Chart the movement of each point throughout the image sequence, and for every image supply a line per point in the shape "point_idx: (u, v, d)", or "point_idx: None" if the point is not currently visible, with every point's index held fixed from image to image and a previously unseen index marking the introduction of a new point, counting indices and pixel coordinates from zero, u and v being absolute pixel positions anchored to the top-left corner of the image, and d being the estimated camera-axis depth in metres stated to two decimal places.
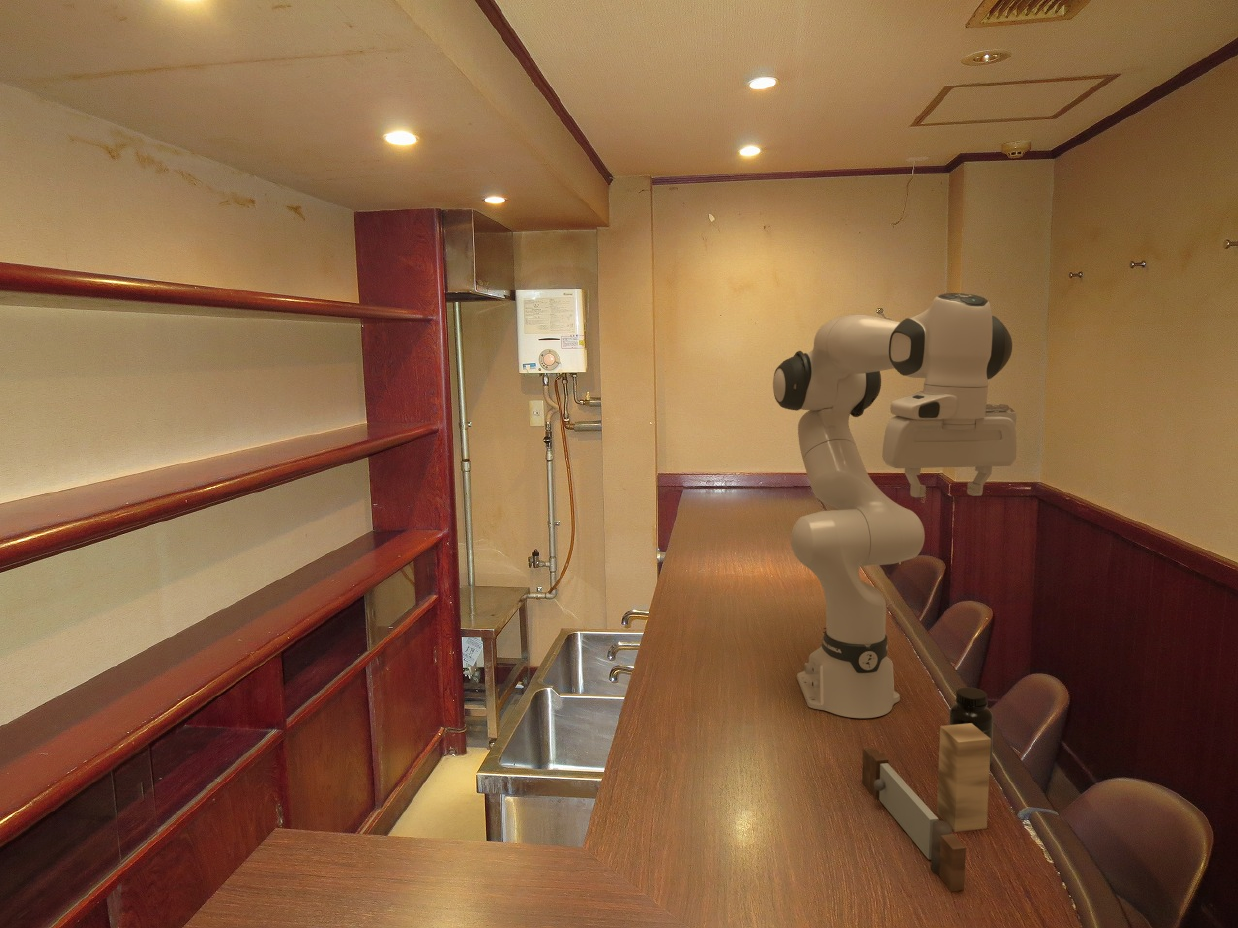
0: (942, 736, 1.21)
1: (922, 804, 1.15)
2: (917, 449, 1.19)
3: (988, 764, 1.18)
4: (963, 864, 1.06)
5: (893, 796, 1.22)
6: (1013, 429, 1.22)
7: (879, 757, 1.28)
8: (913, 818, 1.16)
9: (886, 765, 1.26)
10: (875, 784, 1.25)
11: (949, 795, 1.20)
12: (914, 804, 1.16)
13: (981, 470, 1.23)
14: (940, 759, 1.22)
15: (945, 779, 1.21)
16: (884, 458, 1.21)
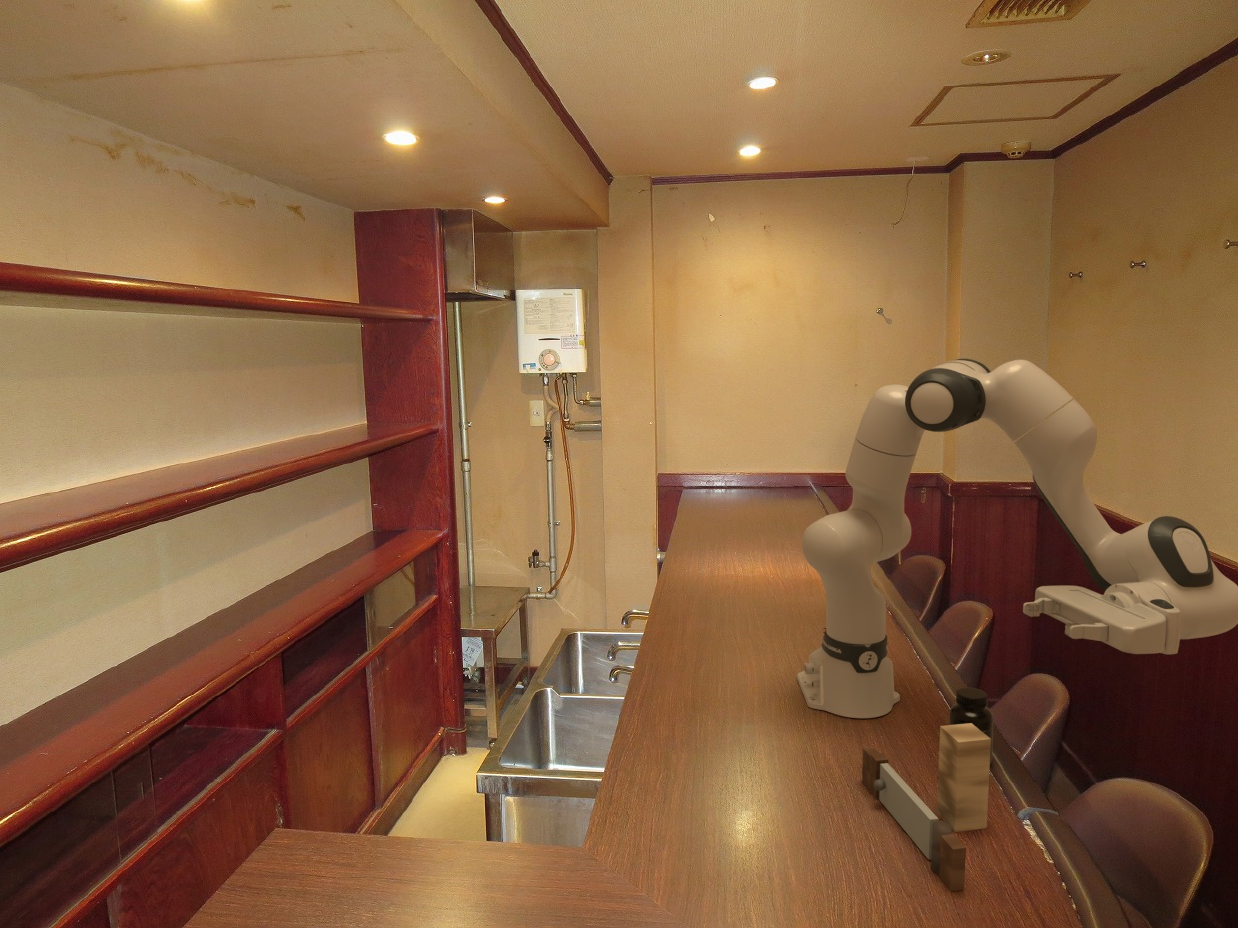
0: (942, 736, 1.21)
1: (922, 804, 1.15)
2: None
3: (988, 764, 1.18)
4: (963, 864, 1.06)
5: (893, 796, 1.22)
6: None
7: (879, 757, 1.28)
8: (913, 818, 1.16)
9: (886, 765, 1.26)
10: (875, 784, 1.25)
11: (949, 795, 1.20)
12: (914, 804, 1.16)
13: (1047, 610, 1.24)
14: (940, 759, 1.22)
15: (945, 779, 1.21)
16: (1135, 635, 1.09)
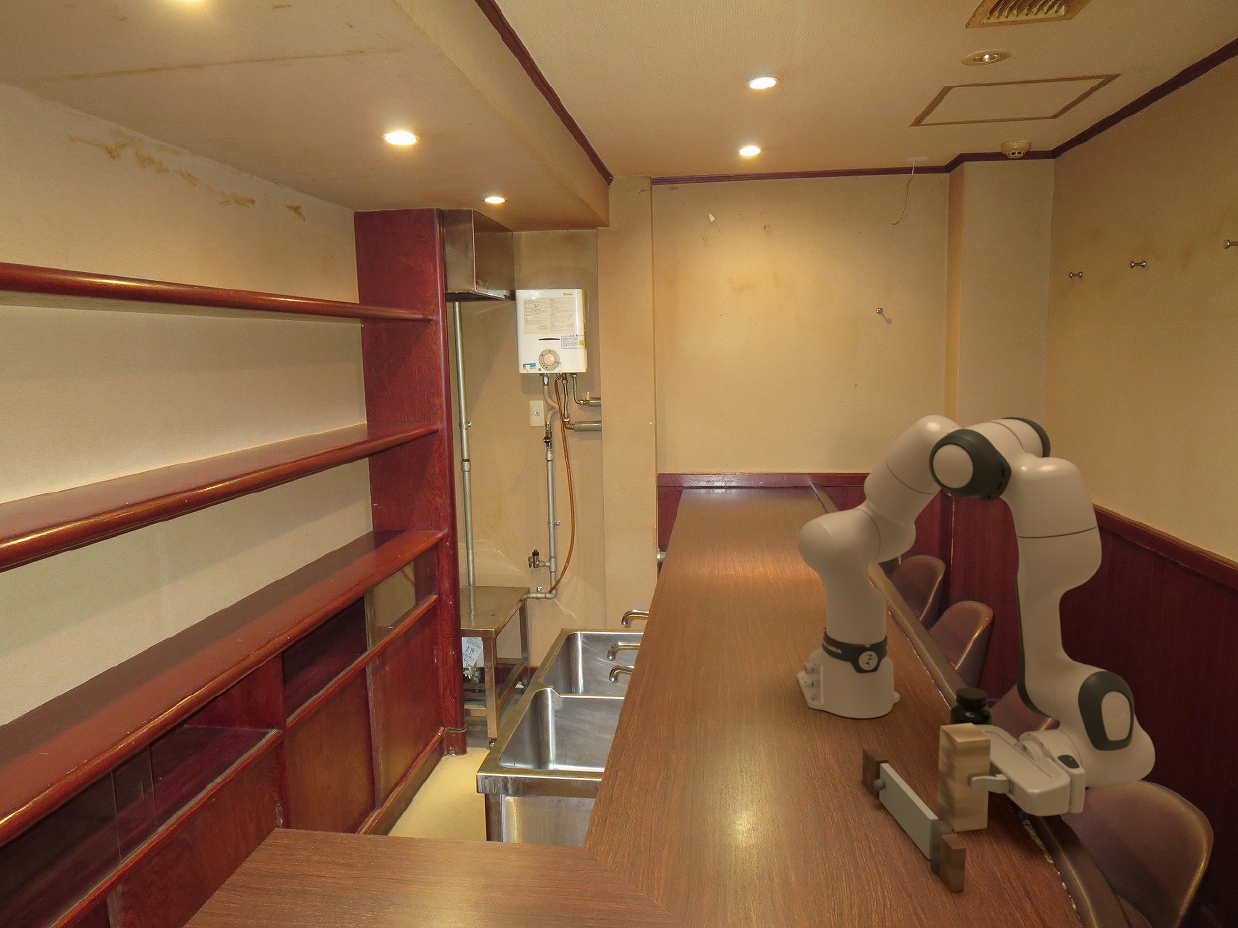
0: (942, 736, 1.21)
1: (922, 804, 1.15)
2: None
3: (988, 764, 1.18)
4: (963, 864, 1.06)
5: (893, 796, 1.22)
6: None
7: (879, 757, 1.28)
8: (913, 818, 1.16)
9: (886, 765, 1.26)
10: (875, 784, 1.25)
11: (949, 795, 1.20)
12: (914, 804, 1.16)
13: None
14: (940, 759, 1.22)
15: (945, 779, 1.21)
16: (1038, 799, 1.11)
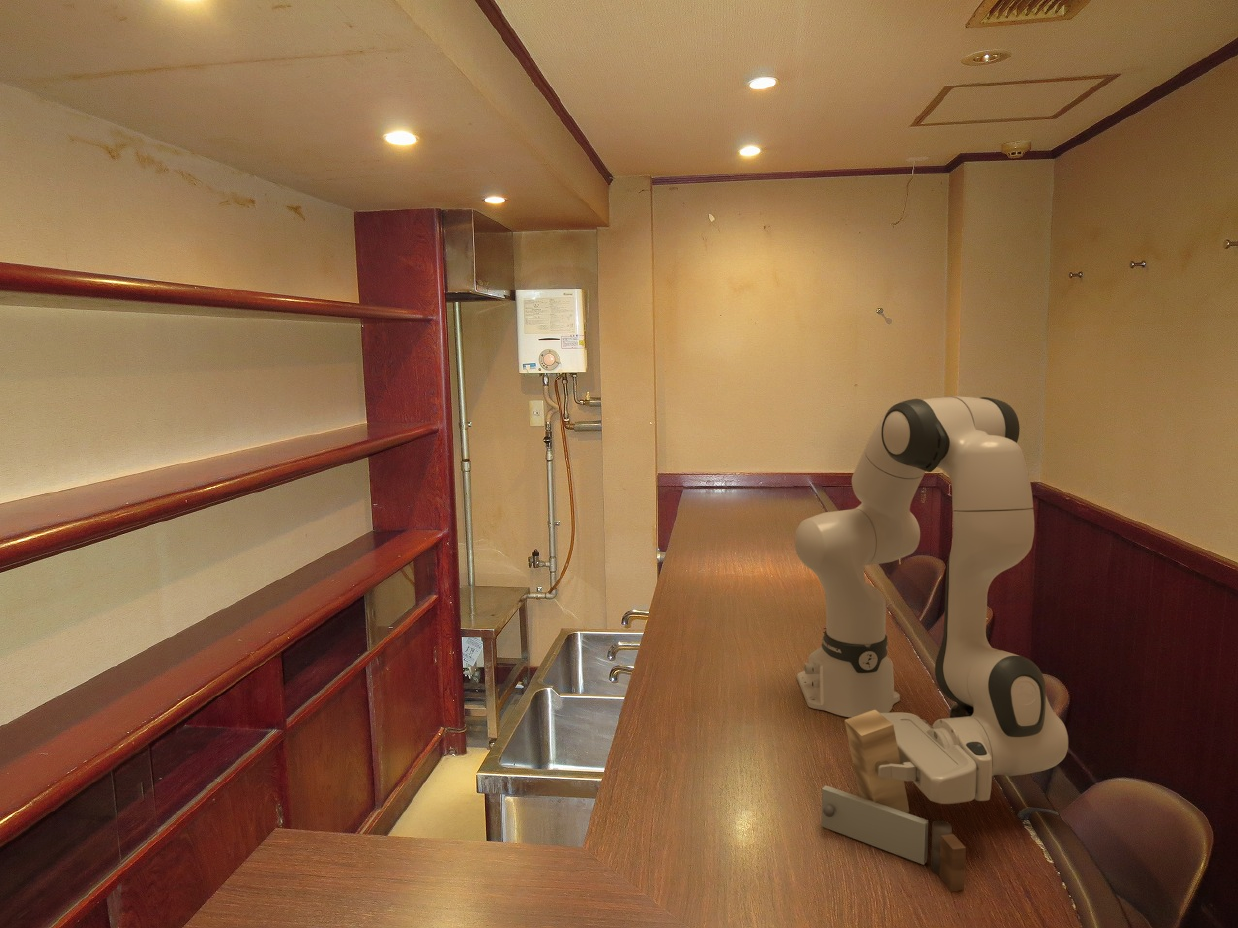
0: (848, 730, 1.19)
1: (901, 812, 1.13)
2: None
3: (896, 749, 1.16)
4: (963, 864, 1.06)
5: (851, 816, 1.17)
6: None
7: None
8: (893, 830, 1.14)
9: (827, 787, 1.20)
10: (827, 811, 1.18)
11: (866, 788, 1.18)
12: (893, 816, 1.13)
13: None
14: (852, 752, 1.20)
15: (860, 771, 1.18)
16: (942, 786, 1.09)
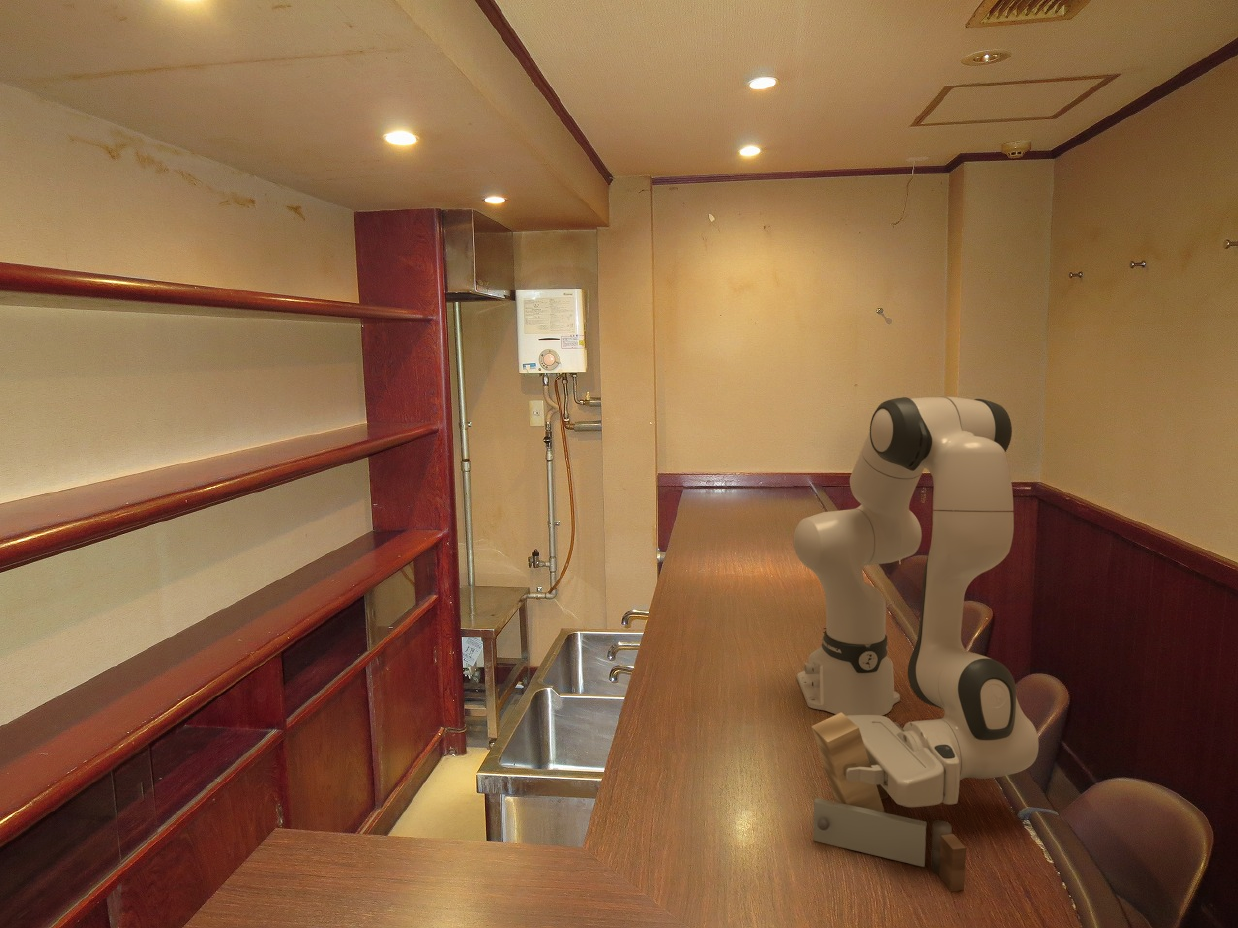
0: (816, 736, 1.18)
1: (898, 817, 1.12)
2: None
3: (864, 751, 1.15)
4: (963, 864, 1.06)
5: (847, 826, 1.15)
6: None
7: None
8: (891, 836, 1.12)
9: (819, 800, 1.17)
10: (823, 825, 1.15)
11: (839, 792, 1.17)
12: (892, 821, 1.12)
13: None
14: (822, 757, 1.19)
15: (831, 776, 1.18)
16: (908, 789, 1.08)
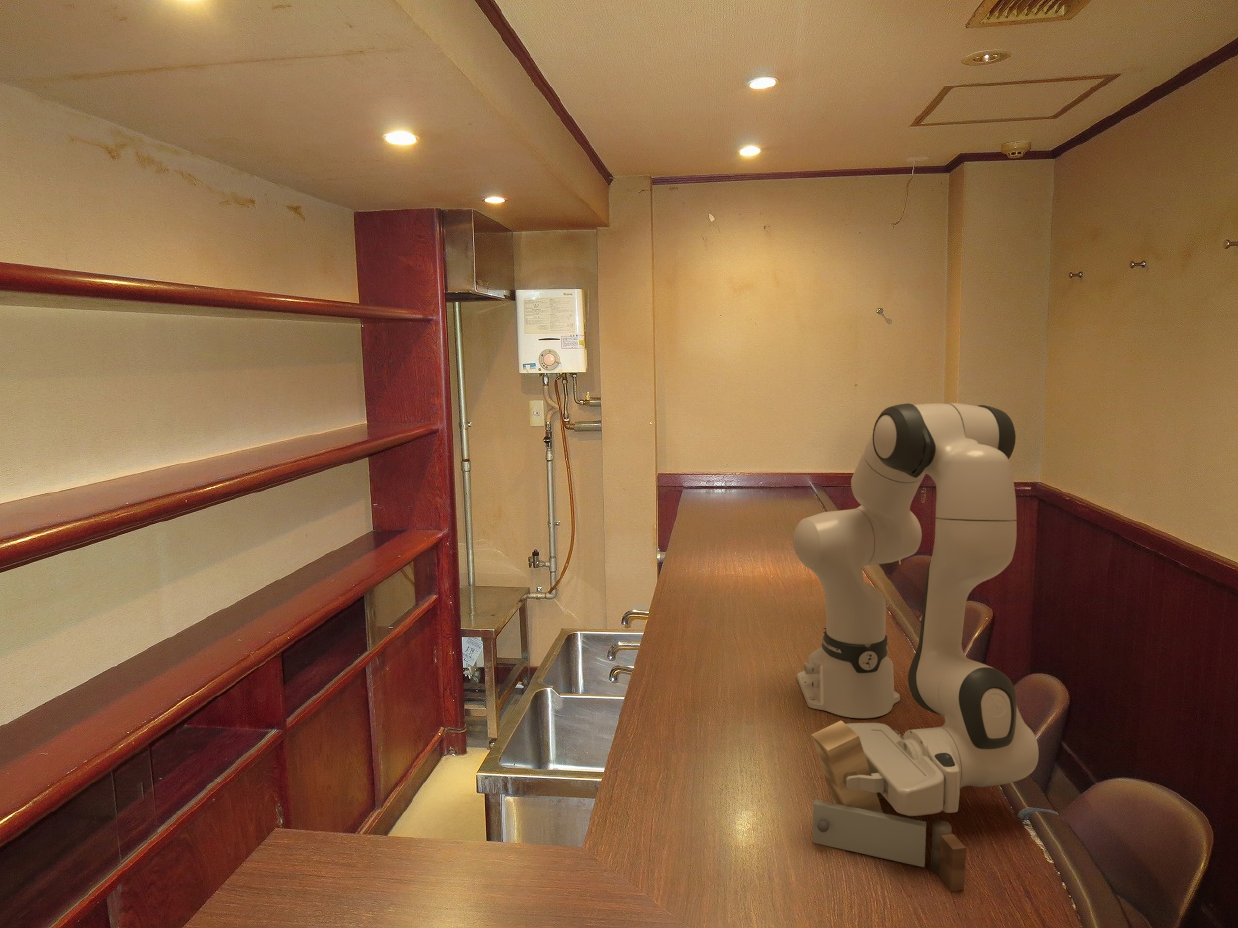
0: (816, 744, 1.18)
1: (898, 818, 1.12)
2: None
3: (864, 760, 1.15)
4: (963, 864, 1.06)
5: (846, 828, 1.15)
6: None
7: None
8: (891, 836, 1.12)
9: (818, 802, 1.16)
10: (823, 827, 1.14)
11: (839, 800, 1.17)
12: (892, 822, 1.12)
13: None
14: (822, 765, 1.19)
15: (831, 784, 1.18)
16: (908, 798, 1.08)
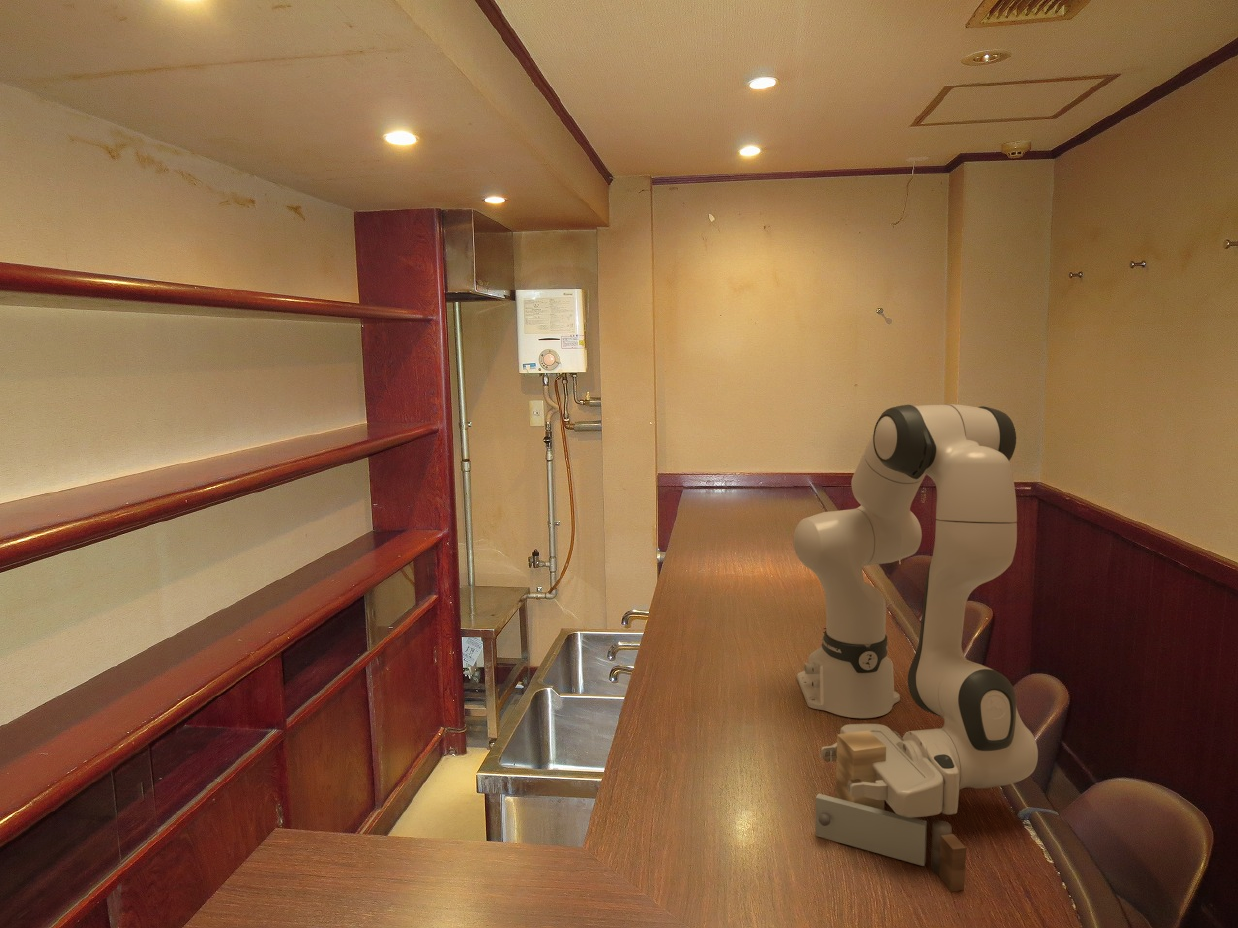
0: (839, 745, 1.19)
1: (899, 815, 1.13)
2: None
3: None
4: (963, 864, 1.06)
5: (848, 823, 1.16)
6: None
7: None
8: (892, 834, 1.13)
9: (821, 796, 1.18)
10: (824, 820, 1.16)
11: None
12: (892, 819, 1.12)
13: None
14: (837, 768, 1.20)
15: (842, 788, 1.19)
16: (907, 800, 1.08)
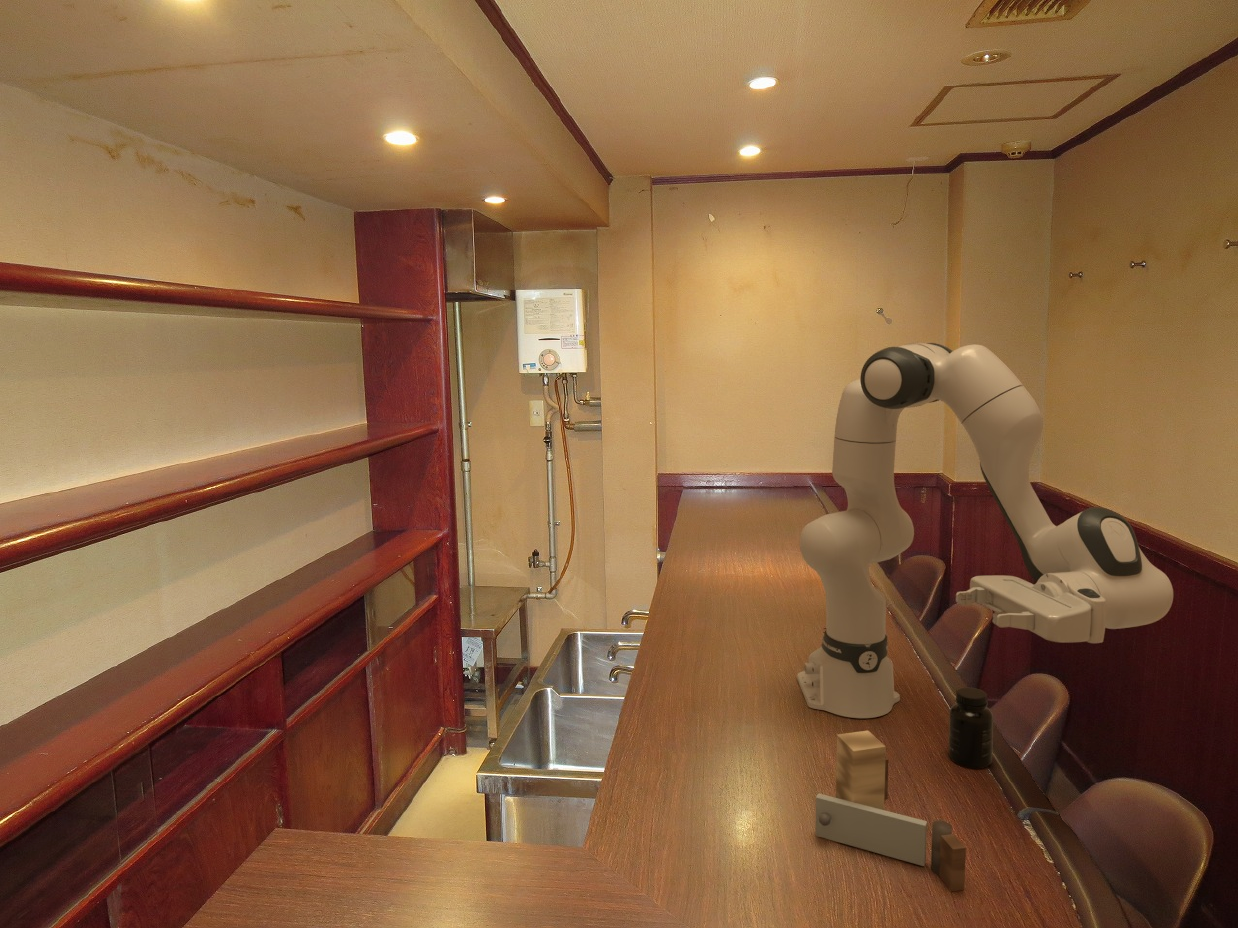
0: (839, 745, 1.19)
1: (899, 815, 1.13)
2: None
3: (883, 772, 1.17)
4: (963, 864, 1.06)
5: (848, 823, 1.16)
6: None
7: None
8: (892, 834, 1.13)
9: (821, 796, 1.18)
10: (824, 820, 1.16)
11: None
12: (892, 819, 1.12)
13: (980, 599, 1.25)
14: (837, 768, 1.20)
15: (842, 788, 1.19)
16: (1059, 624, 1.10)
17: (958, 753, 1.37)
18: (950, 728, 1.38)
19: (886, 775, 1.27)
